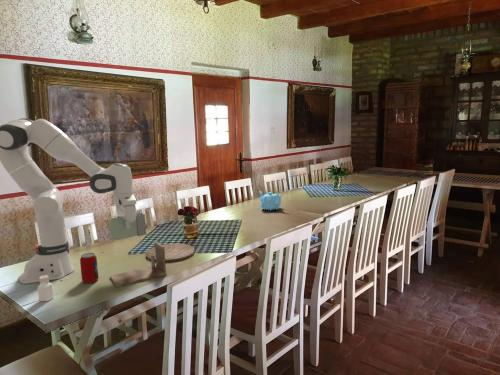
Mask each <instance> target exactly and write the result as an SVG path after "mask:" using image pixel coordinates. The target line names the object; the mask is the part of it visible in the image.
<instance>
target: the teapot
mask: <svg viewBox="0 0 500 375" xmlns="http://www.w3.org/2000/svg"><path fill="white" fill-rule="evenodd" d="M259 194H260V196H259V200H260V202H259V206H260V208H261V209H262V210H263V209H266V210H268V211H269V210H272V211H273V210H275V209H278V210H279V208H280V207H281V203H282V196H283V194H281V195H279V194H278V193H273V192H272V191H270V192H269V191H268V192H267V193H266V194H263V192H262V191H261V190H259Z"/></svg>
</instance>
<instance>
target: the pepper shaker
mask: <svg viewBox="0 0 500 375" xmlns="http://www.w3.org/2000/svg"><path fill="white" fill-rule="evenodd" d="M39 279H40V282H39V285H38V286H37V294H38V301H40V302H49V301H51V300H52V299H54V296H55V295H54V288H53V283H52V282H49V281H50V280H49V277H48V276H47V275H45V276H41V277H39Z"/></svg>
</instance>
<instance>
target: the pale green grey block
mask: <svg viewBox="0 0 500 375" xmlns="http://www.w3.org/2000/svg"><path fill="white" fill-rule="evenodd" d="M146 225H147V224H146V214H145V213H143V212H138V213H137V212H136V220H135V221H134V222H130V228H129V229H126V228H125V220H124V219H123V218H122V217H120V216H118V217H110V218H108V227H109V237H110V241H111V242H112V241H117V240H122V239H128V238H134V237H140V236H141V237H142V236H146V235H147V226H146Z"/></svg>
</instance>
